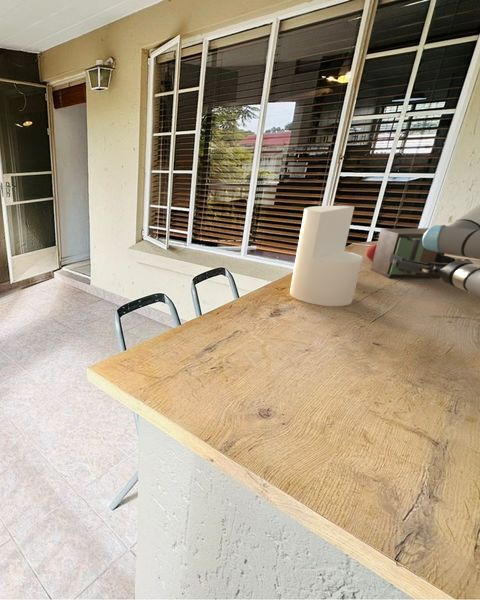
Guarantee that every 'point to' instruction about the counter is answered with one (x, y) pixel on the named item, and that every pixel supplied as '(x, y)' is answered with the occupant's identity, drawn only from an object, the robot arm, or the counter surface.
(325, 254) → the cream stepped cylinder
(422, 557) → the counter surface
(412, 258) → the door
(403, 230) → the cabinet
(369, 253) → the onion
